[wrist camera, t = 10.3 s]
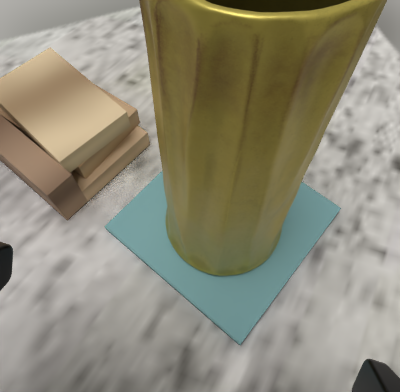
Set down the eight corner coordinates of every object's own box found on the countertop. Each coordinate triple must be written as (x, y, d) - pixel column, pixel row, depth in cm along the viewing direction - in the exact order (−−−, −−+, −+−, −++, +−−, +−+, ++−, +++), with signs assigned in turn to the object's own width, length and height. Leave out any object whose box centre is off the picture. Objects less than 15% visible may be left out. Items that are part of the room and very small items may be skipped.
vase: (301, 252, 19) (507, -12, 6) (189, 295, 18) (167, 86, 5) (251, 157, 22) (327, -166, 9) (150, 191, 21) (73, -119, 8)
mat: (338, 211, 21) (341, 208, 20) (239, 345, 17) (240, 344, 17) (212, 125, 23) (212, 121, 23) (106, 229, 20) (104, 226, 20)
